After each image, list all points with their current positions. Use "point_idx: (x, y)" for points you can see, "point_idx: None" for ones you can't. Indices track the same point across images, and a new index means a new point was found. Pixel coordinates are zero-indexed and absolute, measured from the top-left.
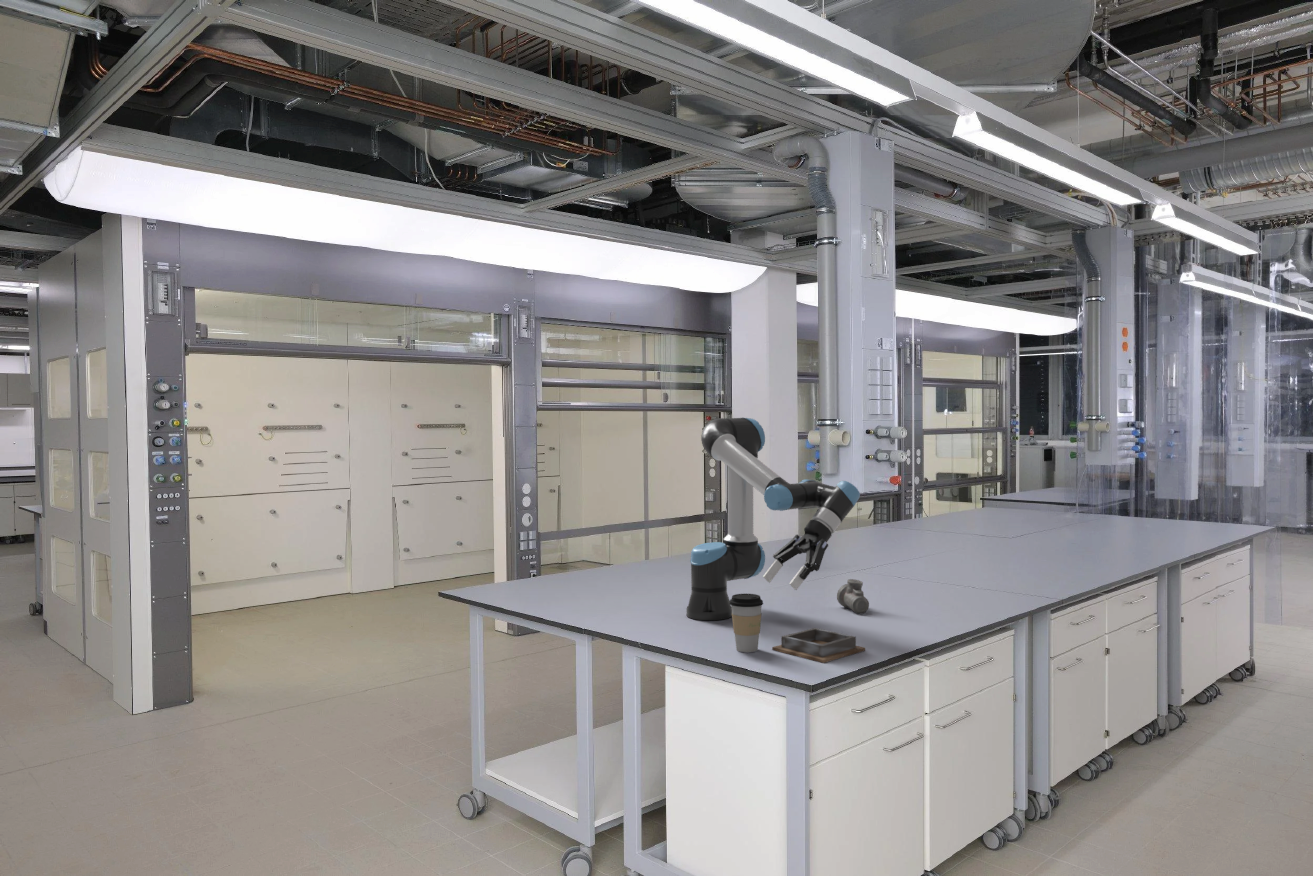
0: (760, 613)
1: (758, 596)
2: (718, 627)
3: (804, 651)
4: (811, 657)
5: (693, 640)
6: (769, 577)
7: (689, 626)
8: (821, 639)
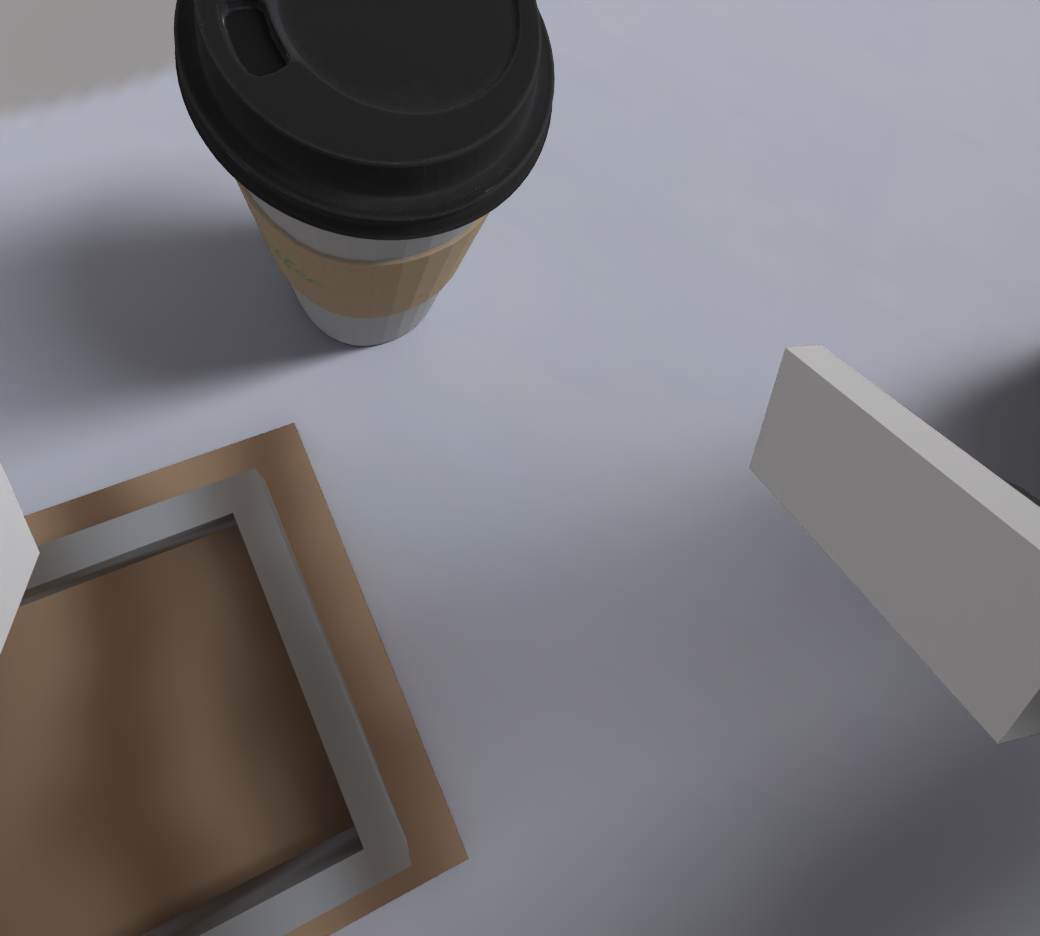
0: (278, 223)
1: (304, 119)
2: (917, 370)
3: None
4: None
5: (682, 114)
6: (795, 449)
7: (972, 234)
8: (303, 855)
